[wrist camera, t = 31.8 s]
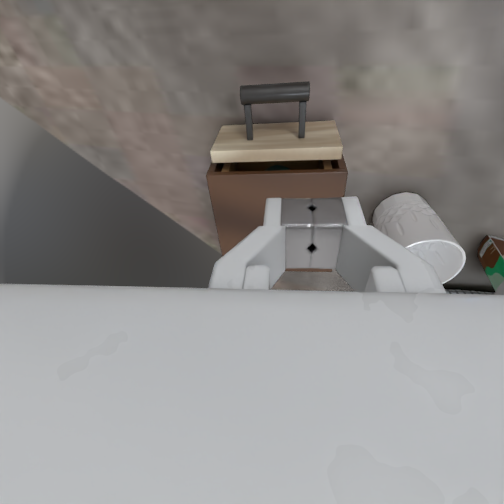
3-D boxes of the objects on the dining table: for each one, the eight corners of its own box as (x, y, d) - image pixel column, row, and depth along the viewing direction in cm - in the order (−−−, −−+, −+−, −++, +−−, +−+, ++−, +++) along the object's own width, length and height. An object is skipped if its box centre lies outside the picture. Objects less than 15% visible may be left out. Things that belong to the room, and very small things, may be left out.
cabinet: (220, 140, 34) (205, 175, 28) (337, 136, 33) (348, 172, 27) (234, 229, 43) (224, 270, 37) (325, 229, 42) (331, 272, 36)
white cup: (355, 218, 40) (369, 270, 33) (404, 176, 35) (434, 227, 28) (393, 244, 42) (415, 299, 35) (445, 208, 38) (482, 263, 30)
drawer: (215, 76, 29) (199, 96, 24) (340, 68, 28) (351, 87, 23) (234, 216, 41) (227, 248, 36) (324, 215, 39) (328, 249, 34)
